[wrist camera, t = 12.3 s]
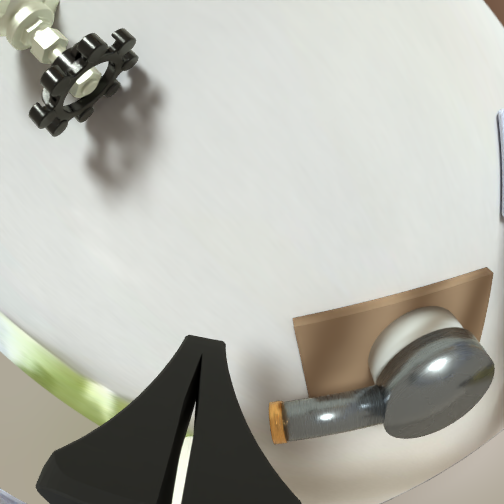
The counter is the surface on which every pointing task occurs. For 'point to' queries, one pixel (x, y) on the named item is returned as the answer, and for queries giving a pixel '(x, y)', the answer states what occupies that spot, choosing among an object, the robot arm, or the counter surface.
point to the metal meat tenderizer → (398, 393)
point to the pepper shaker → (182, 470)
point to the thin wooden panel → (384, 330)
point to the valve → (65, 62)
